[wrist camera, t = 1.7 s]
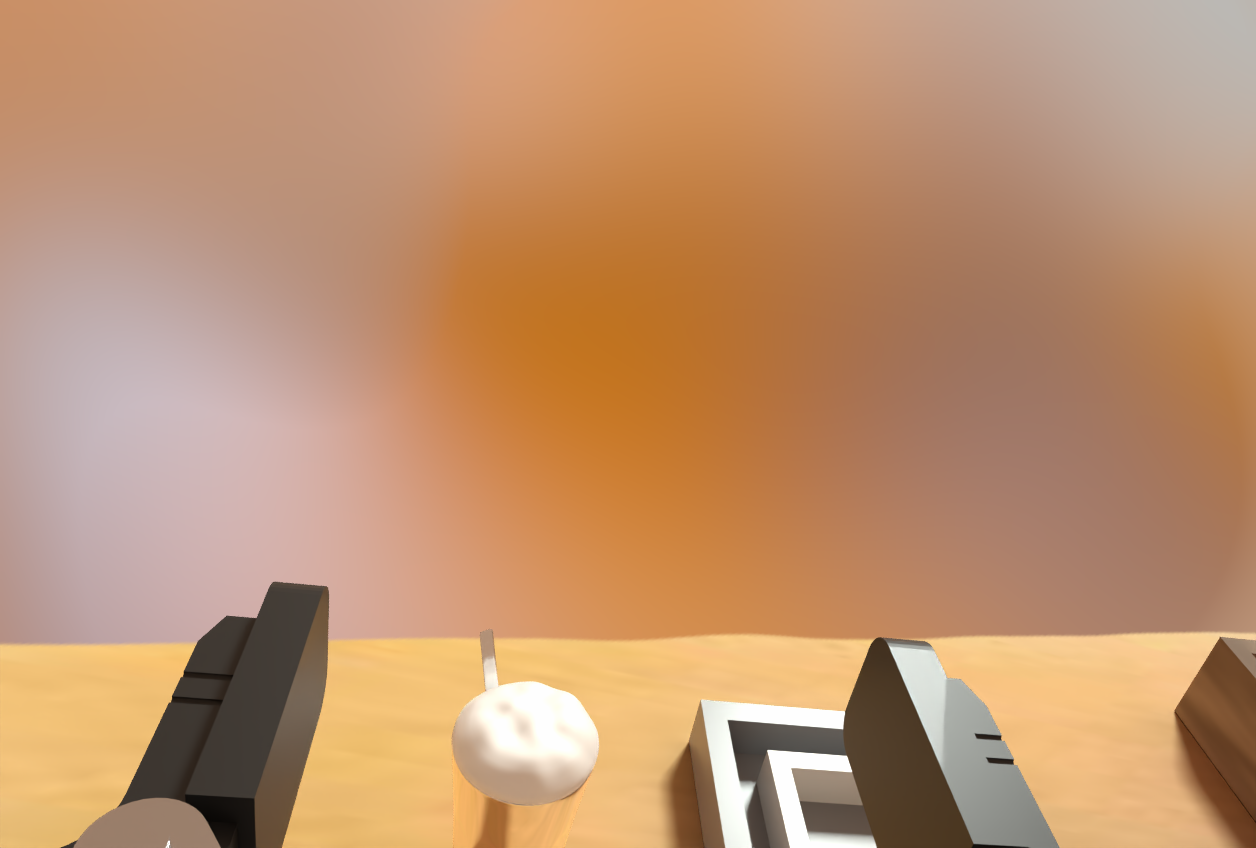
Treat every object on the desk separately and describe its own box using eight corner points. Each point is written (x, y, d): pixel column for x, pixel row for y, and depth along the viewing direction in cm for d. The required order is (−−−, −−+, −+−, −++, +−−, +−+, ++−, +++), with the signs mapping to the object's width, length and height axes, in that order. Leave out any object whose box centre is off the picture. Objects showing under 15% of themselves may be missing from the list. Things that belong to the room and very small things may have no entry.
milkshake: (512, 808, 37) (546, 611, 32) (586, 924, 34) (637, 721, 29) (402, 856, 35) (421, 650, 30) (469, 987, 31) (502, 776, 26)
